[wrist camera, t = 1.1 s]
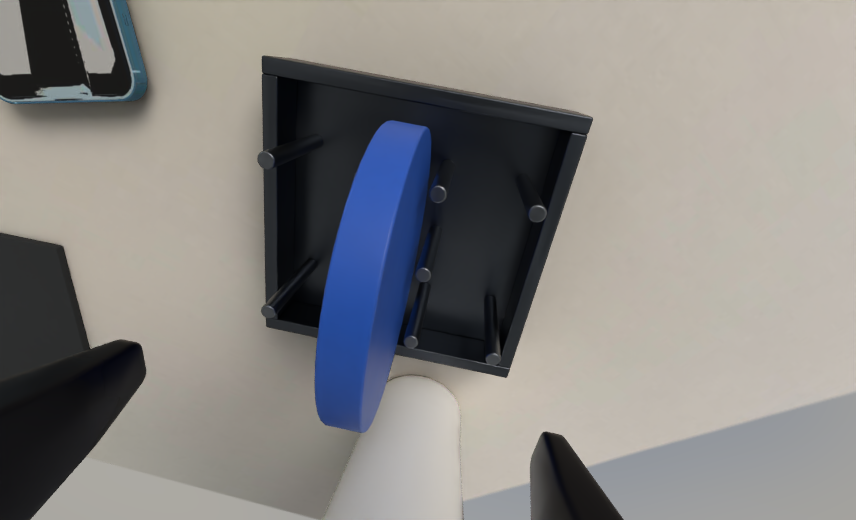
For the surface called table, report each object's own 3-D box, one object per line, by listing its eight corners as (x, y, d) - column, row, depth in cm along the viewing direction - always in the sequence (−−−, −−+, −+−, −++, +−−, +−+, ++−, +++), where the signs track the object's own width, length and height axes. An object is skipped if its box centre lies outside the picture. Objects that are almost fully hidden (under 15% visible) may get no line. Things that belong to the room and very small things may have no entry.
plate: (441, 114, 16) (391, 160, 7) (406, 318, 20) (347, 511, 11) (412, 108, 16) (325, 147, 7) (383, 313, 20) (306, 502, 11)
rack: (577, 111, 16) (619, 125, 11) (503, 345, 21) (511, 423, 16) (291, 58, 16) (215, 49, 12) (288, 300, 22) (234, 363, 17)
